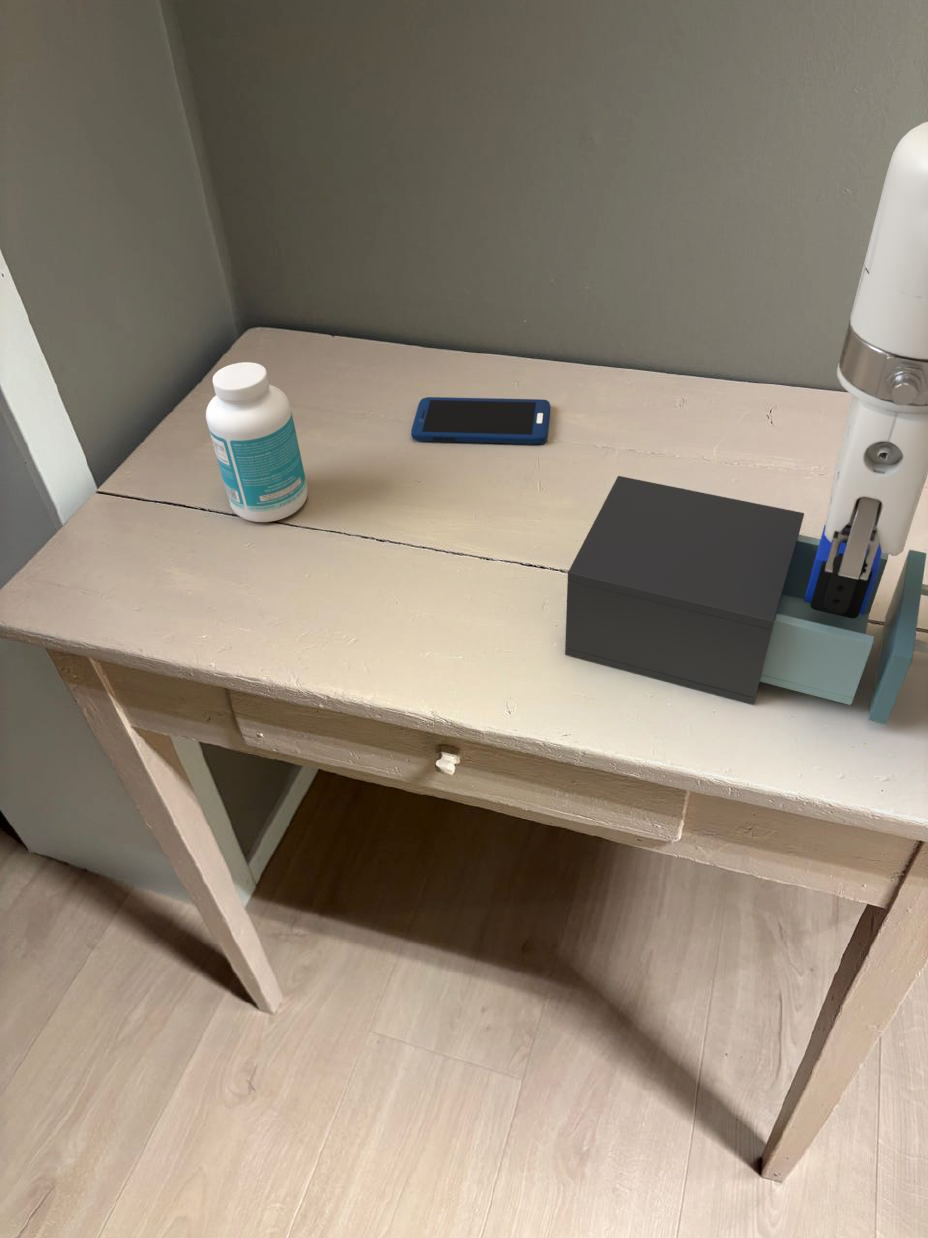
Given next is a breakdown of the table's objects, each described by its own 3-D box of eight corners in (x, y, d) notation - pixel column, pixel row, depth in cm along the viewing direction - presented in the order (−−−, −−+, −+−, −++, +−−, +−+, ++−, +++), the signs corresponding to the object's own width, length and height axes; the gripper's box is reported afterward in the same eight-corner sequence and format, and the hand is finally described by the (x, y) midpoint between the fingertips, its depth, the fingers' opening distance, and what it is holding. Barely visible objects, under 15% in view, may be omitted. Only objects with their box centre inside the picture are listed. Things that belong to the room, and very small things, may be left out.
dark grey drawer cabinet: (783, 596, 79) (804, 512, 73) (753, 705, 70) (774, 621, 64) (611, 556, 83) (618, 475, 77) (564, 655, 75) (567, 572, 69)
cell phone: (547, 444, 96) (547, 438, 95) (409, 441, 97) (409, 434, 97) (551, 405, 101) (551, 398, 100) (420, 402, 103) (420, 396, 102)
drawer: (970, 635, 73) (1000, 567, 69) (962, 745, 66) (995, 678, 61) (728, 579, 79) (740, 514, 74) (695, 675, 72) (706, 609, 67)
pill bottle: (322, 485, 93) (298, 359, 83) (287, 532, 88) (258, 403, 78) (253, 473, 95) (223, 349, 85) (216, 518, 90) (179, 391, 80)
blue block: (870, 579, 69) (884, 536, 66) (863, 615, 67) (878, 572, 64) (813, 566, 70) (824, 523, 68) (804, 601, 68) (816, 558, 65)
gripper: (972, 447, 49) (880, 685, 62) (986, 303, 60) (905, 531, 73) (821, 420, 51) (762, 656, 64) (860, 286, 62) (803, 510, 75)
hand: (838, 587), depth 68 cm, fingers closed on blue block, 4 cm apart
